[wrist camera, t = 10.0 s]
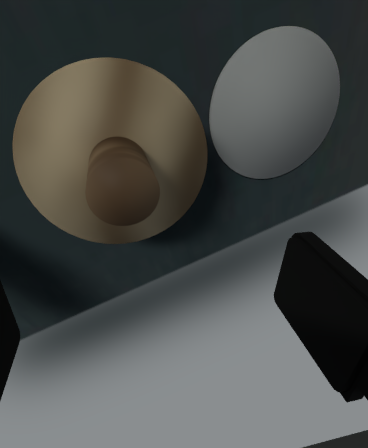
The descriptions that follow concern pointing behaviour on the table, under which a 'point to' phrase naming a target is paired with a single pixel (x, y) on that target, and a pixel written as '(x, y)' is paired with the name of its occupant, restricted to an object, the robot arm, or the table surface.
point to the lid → (110, 150)
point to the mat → (274, 102)
